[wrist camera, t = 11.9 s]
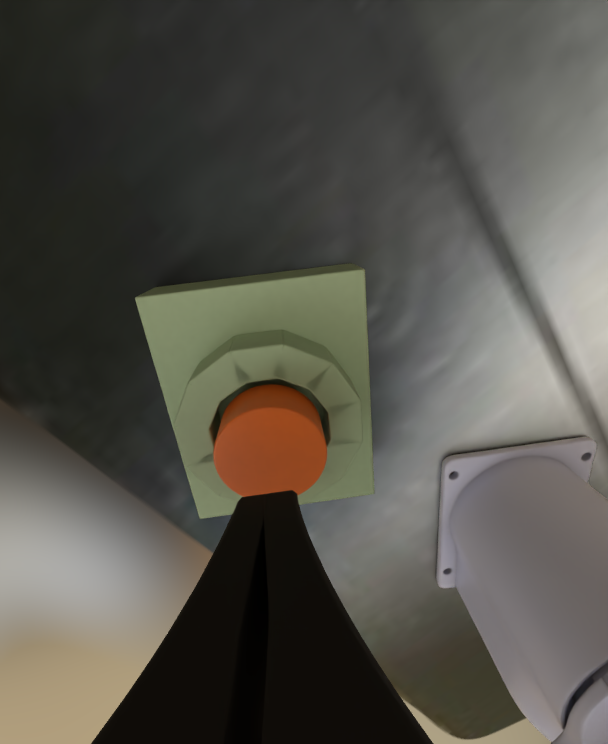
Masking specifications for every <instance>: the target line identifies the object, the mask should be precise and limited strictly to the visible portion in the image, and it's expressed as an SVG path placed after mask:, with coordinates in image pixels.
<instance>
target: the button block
mask: <svg viewBox="0 0 608 744" xmlns="http://www.w3.org/2000/svg"><path fill="white" fill-rule="evenodd" d="M135 300H136V304H137V307H138V310H139V314H140V317H141V321H142V324H143V327H144V331H145V334H146V338H147V341H148V344H149V348H150V351H151V355H152V358H153V361H154V365H155V368H156V372H157V375H158V378H159V382H160V385H161V389H162V392H163V395H164V399H165V402H166V406H167V409H168V412H169V416H170V419H171V423H172V426H173V429H174V433H175V436H176V440H177V443H178V446H179V450H180V453H181V457H182V460H183V463H184V467H185V470H186V474H187V477H188V480H189V484H190V487H191V491H192V494H193V497H194V501H195V504H196V508H197V511H198V514H199V518H200V519H202V518H209V517H216V516H223V515H230V514H233V512H234V509H235V507H236V505H237V502H238V501H239V500H240V498H241V497H243V496H241V495H239V494H237V493H235V492H234V491H232V490H231V489H230V488H229V487H228V486H227V485H226V484H225V483H224V482H223V481H222V479H221V478H220V476H219V474H218V473H217V471H216V468H215V465H214V459H213V451H214V445H215V441H216V438H217V434H218V430H219V427H220V423H221V419H222V416H223V413H224V411H225V409H226V408H227V406H228V405H229V403H230V402H231V401H232V400H233V399H234V398H235V397H236V396H238V395H239V394H240V393H242V392H244V391H246V390H248V389H250V388H253V387H256V386H260V385H268V384H276V385H283V386H287V387H290V388H293V389H295V390H297V391H299V392H301V393H302V394H304V395H305V396H306V397H307V398H308V399H309V400H310V401H311V402H312V403H313V404H314V406H315V407H316V409H317V411H318V413H319V416H320V420H321V424H322V428H323V432H324V436H325V441H326V445H327V461H326V465H325V468H324V470H323V472H322V474H321V476H320V477H319V479H318V480H317V481H316V482H315V484H314V485H312V486H311V487H310V488H309V489H308V490H306V491H305V492H303V493H302V494H300V495H298V502H299V505H300V504H307V503H314V502H321V501H328V500H335V499H342V498H349V497H356V496H363V495H370V494H374V471H373V447H372V424H371V401H370V377H369V354H368V331H367V307H366V284H365V270H364V269H363V268H361V267H359V266H357V265H354V264H352V263H348V264H340V265H332V266H324V267H316V268H308V269H299V270H291V271H283V272H275V273H267V274H259V275H251V276H243V277H235V278H227V279H219V280H211V281H202V282H194V283H186V284H178V285H170V286H162V287H155V288H153V289H151V290H149V291H147V292H145V293H143V294H141V295H139V296H137V297H135Z"/></svg>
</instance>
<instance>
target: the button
mask: <svg viewBox="0 0 608 744" xmlns="http://www.w3.org/2000/svg"><path fill="white" fill-rule="evenodd" d="M213 459H214V465H215V468H216V471H217V473H218V474H219V476H220V478H221V479H222V481H223V482H224V483H225V484H226V485H227V486H228V487H229V488H230V489H231V490H232V491H234V492H235V493H237V494H239V495H241V496H243V497H246V496H253V495H260V494H267V493H274V492H282V491H289V490H293V491H294V492H296V493H297V495H300V494H302V493H303V492H305V491H306V490H308V489H309V488H310V487H311V486H312V485H314V484H315V482H316V481H317V480H318V479H319V477H320V476H321V474H322V472H323V470H324V468H325V465H326V461H327V445H326V441H325V436H324V432H323V428H322V424H321V420H320V416H319V413H318V411H317V409H316V407H315V406H314V404H313V403H312V402H311V401H310V400H309V399H308V398H307V397H306V396H305V395H304V394H302V393H301V392H299V391H297V390H295V389H293V388H290V387H287V386H283V385H276V384H268V385H260V386H256V387H253V388H250V389H248V390H246V391H244V392H242V393H240V394H239V395H238V396H236V397H235V398H234V399H233V400H232V401H231V402H230V403H229V405H228V406H227V408H226V409H225V411H224V413H223V416H222V419H221V423H220V427H219V430H218V434H217V438H216V441H215V445H214V451H213Z"/></svg>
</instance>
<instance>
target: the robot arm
mask: <svg viewBox="0 0 608 744" xmlns="http://www.w3.org/2000/svg"><path fill="white" fill-rule="evenodd" d="M596 449H597V443H596V441H594V440H593V439H591V438H590V437H579V438H572V439H564V440H557V441H550V442H543V443H536V444H529V445H522V446H515V447H508V448H501V449H493V450H486V451H479V452H472V453H465V454H458V455H451V456H448V457H447V458H445V459H444V461H443V462H442V471H441V492H440V513H439V534H438V554H437V575H436V580H437V583H438V585H439V586H440V587H441V588H452V587H456V588H457V590H458V592H459V594H460V596H461V598H462V599H463V601H464V603H465V605H466V607H467V609H468V611H469V613H470V615H471V617H472V619H473V621H474V623H475V625H476V627H477V629H478V631H479V633H480V635H481V637H482V639H483V641H484V643H485V645H486V647H487V649H488V651H489V653H490V655H491V657H492V659H493V661H494V663H495V665H496V667H497V669H498V671H499V673H500V675H501V677H502V679H503V681H504V683H505V685H506V687H507V689H508V691H509V693H510V694H511V696H512V698H513V699H514V701H515V703H516V704H517V706H518V707H519V709H520V710H521V711H522V713H523V714H524V715H525V717H526V718H527V719H528V720H529V721H530V722H531V723H532V725H534V727H535V728H536V729H537V730H538V731H539V732H541V733H542V734H543V735H544V736H545V737H546V738H547V739H548V740H549V741H551V744H608V500H607V499H606V498H605V497H604V496H602V495H601V494H600V493H599V492H598V491H596V490H595V489H594V488H593V487H592V486H590V485H589V484H588V481H589V477H590V473H591V469H592V465H593V461H594V457H595V453H596ZM454 471H455V472H454ZM451 472H454V473H453V474H451V475H449V474H450V473H451ZM91 744H433V743H432V741H431V740H430V739H429V737H428V736H427V734H426V733H425V731H424V730H423V729H422V727H421V726H420V724H419V723H418V722H417V720H416V719H415V717H414V716H413V714H412V713H411V712H410V710H409V709H408V707H407V706H406V705H405V703H404V702H403V700H402V699H401V697H400V696H399V695H398V693H397V692H396V690H395V689H394V687H393V685H392V684H391V682H390V681H389V679H388V678H387V676H386V675H385V673H384V672H383V670H382V669H381V667H380V666H379V664H378V663H377V661H376V659H375V658H374V656H373V655H372V653H371V651H370V650H369V648H368V647H367V645H366V643H365V642H364V640H363V639H362V637H361V635H360V634H359V632H358V630H357V629H356V627H355V625H354V624H353V622H352V620H351V618H350V617H349V615H348V613H347V611H346V610H345V608H344V606H343V604H342V602H341V600H340V599H339V597H338V595H337V593H336V591H335V589H334V588H333V586H332V584H331V582H330V580H329V578H328V576H327V574H326V572H325V570H324V568H323V566H322V563H321V561H320V559H319V557H318V555H317V553H316V551H315V548H314V546H313V544H312V541H311V539H310V537H309V534H308V532H307V529H306V526H305V523H304V521H303V518H302V514H301V511H300V507H299V502H298V495H297V493H296V492H294V491H293V490H289V491H282V492H274V493H267V494H260V495H253V496H246V497H241V498H240V500H239V501H238V502H237V505H236V507H235V509H234V512H233V514H232V516H231V519H230V521H229V523H228V525H227V527H226V529H225V531H224V533H223V536H222V538H221V540H220V542H219V544H218V546H217V548H216V550H215V552H214V553H213V555H212V557H211V559H210V561H209V563H208V565H207V567H206V568H205V571H204V572H203V574H202V576H201V578H200V580H199V582H198V583H197V585H196V587H195V589H194V590H193V592H192V594H191V595H190V597H189V599H188V600H187V602H186V604H185V606H184V607H183V609H182V610H181V612H180V614H179V616H178V617H177V619H176V621H175V622H174V624H173V626H172V627H171V629H170V630H169V632H168V634H167V635H166V637H165V638H164V640H163V641H162V643H161V645H160V646H159V648H158V649H157V651H156V652H155V654H154V655H153V657H152V658H151V660H150V661H149V663H148V664H147V666H146V667H145V669H144V670H143V672H142V673H141V675H140V676H139V678H138V679H137V681H136V682H135V684H134V685H133V686H132V688H131V689H130V691H129V692H128V694H127V695H126V697H125V698H124V699H123V701H122V702H121V703H120V705H119V706H118V708H117V709H116V710H115V712H114V713H113V714H112V716H111V717H110V719H109V720H108V721H107V723H106V724H105V725H104V727H103V728H102V730H101V731H100V732H99V734H98V735H97V736H96V738H95V739H94V741H93V742H92V743H91Z"/></svg>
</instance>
